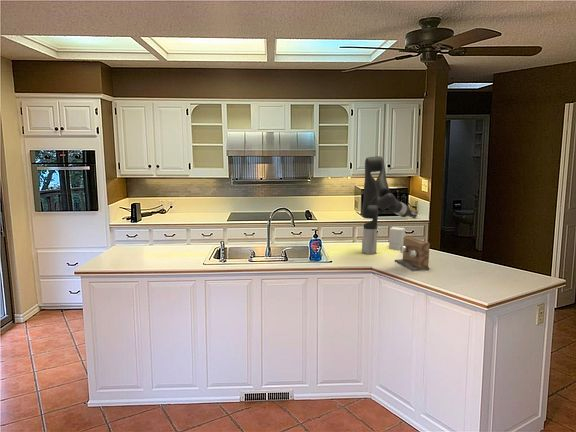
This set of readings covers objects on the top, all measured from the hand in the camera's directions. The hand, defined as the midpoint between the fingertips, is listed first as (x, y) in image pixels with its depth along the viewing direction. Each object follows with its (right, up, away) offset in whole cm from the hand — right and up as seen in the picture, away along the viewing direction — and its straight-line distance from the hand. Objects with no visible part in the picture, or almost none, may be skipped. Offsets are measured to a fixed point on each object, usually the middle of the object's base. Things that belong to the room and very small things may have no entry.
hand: (414, 216), depth 267 cm
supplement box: (0, -23, +46) cm, 51 cm away
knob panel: (-2, -30, 0) cm, 30 cm away
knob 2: (0, -24, -7) cm, 25 cm away
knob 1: (-3, -22, +5) cm, 23 cm away
